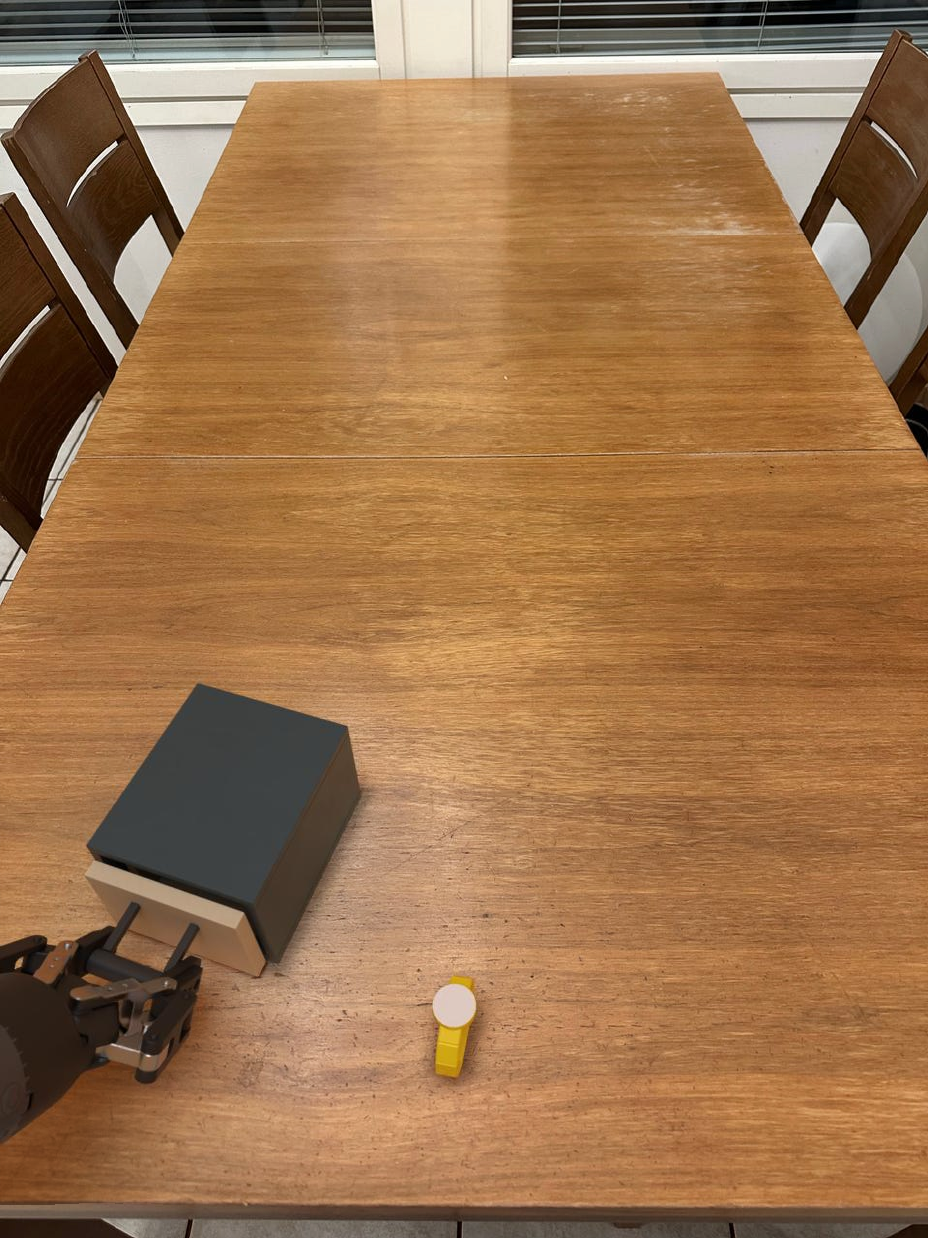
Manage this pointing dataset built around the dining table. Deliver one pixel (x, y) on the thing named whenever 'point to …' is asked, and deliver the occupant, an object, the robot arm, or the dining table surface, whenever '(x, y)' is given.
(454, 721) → the dining table surface
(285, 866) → the cabinet
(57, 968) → the robot arm
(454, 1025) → the watch
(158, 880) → the drawer
